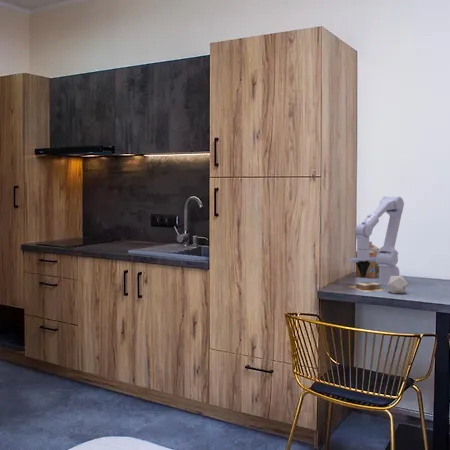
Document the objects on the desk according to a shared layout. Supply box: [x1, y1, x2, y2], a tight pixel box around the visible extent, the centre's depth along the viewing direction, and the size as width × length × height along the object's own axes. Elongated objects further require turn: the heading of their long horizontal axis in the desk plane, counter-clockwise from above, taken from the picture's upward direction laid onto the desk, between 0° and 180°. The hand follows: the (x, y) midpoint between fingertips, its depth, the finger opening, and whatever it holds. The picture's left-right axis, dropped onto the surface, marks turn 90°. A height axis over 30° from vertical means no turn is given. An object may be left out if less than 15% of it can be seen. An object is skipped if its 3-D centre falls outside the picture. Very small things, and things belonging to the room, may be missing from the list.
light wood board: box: [347, 285, 388, 293], centre depth 260 cm, size 12×16×1 cm
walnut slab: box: [355, 281, 381, 291], centre depth 259 cm, size 9×2×7 cm
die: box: [386, 275, 409, 294], centre depth 248 cm, size 8×9×10 cm
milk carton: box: [355, 240, 380, 280], centre depth 296 cm, size 11×11×19 cm
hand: (363, 276), depth 263 cm, fingers closed
